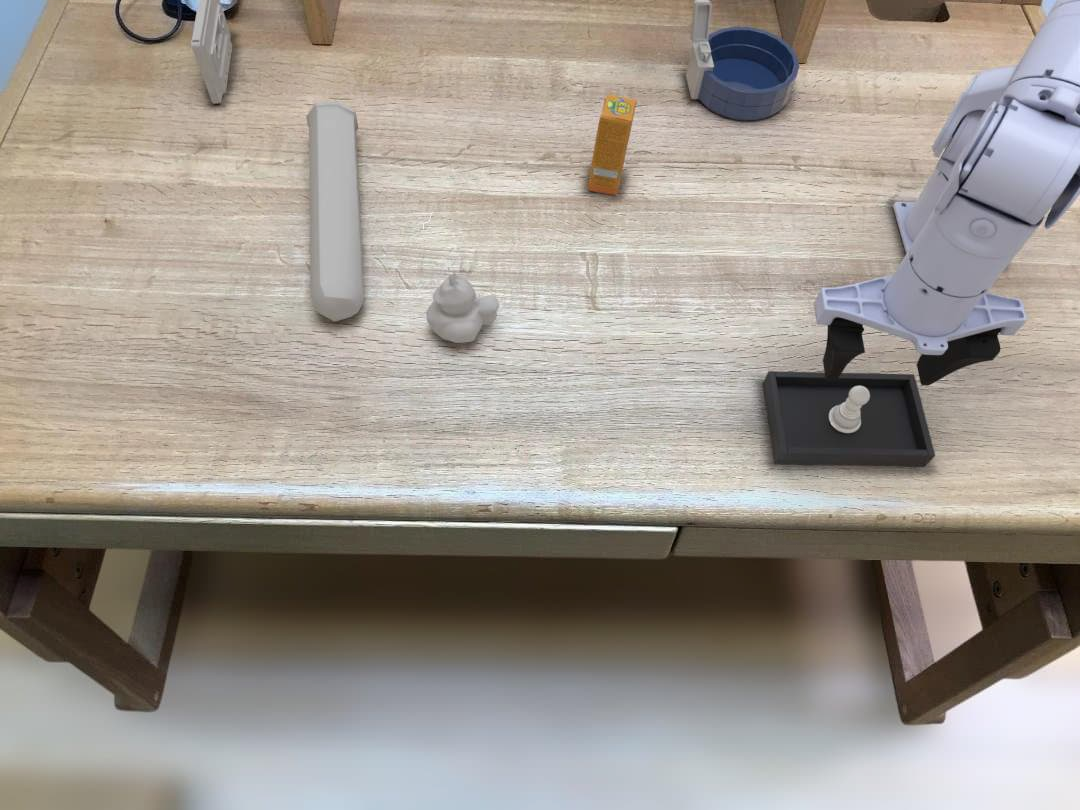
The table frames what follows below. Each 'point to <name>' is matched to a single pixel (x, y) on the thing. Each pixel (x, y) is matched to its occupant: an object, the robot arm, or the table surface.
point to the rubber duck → (460, 310)
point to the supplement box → (611, 144)
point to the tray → (809, 437)
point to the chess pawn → (849, 410)
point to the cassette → (212, 47)
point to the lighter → (699, 47)
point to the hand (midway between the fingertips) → (875, 372)
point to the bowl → (748, 73)
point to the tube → (334, 211)
